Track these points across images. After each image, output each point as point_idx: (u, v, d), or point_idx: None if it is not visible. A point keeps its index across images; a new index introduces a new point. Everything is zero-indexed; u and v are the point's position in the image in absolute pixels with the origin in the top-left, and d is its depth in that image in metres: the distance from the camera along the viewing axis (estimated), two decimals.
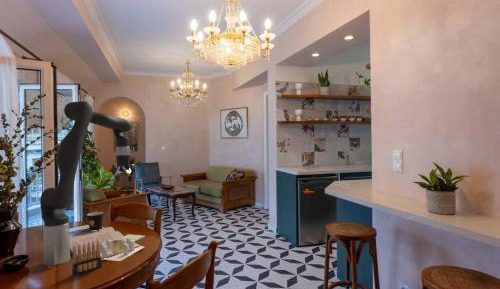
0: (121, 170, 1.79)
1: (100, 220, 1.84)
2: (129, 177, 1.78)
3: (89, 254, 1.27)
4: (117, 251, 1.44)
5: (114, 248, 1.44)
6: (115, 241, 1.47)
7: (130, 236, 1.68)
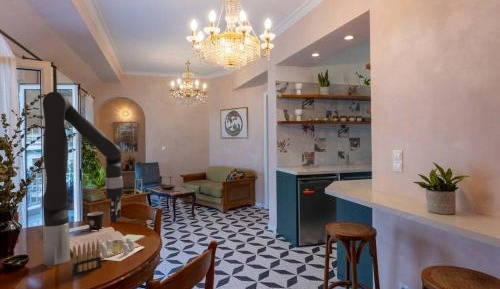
0: None
1: (100, 220, 1.84)
2: None
3: (89, 254, 1.27)
4: (117, 251, 1.44)
5: (114, 248, 1.44)
6: (115, 241, 1.47)
7: (130, 236, 1.68)
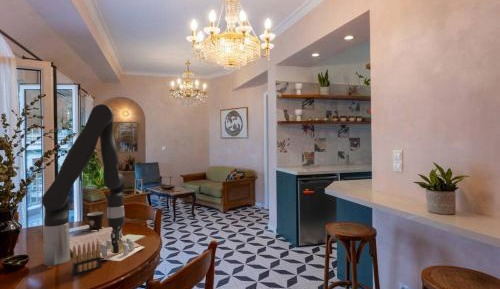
0: None
1: (100, 220, 1.84)
2: None
3: (89, 254, 1.27)
4: None
5: None
6: (115, 241, 1.47)
7: (130, 236, 1.68)
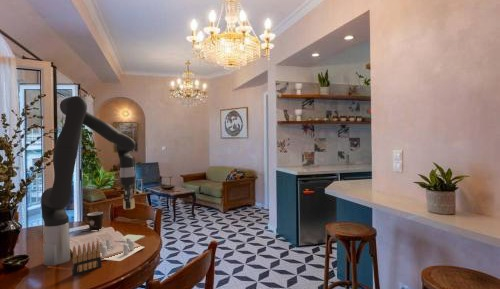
0: None
1: (100, 220, 1.84)
2: None
3: (89, 254, 1.27)
4: None
5: None
6: (127, 198, 1.65)
7: (130, 236, 1.68)
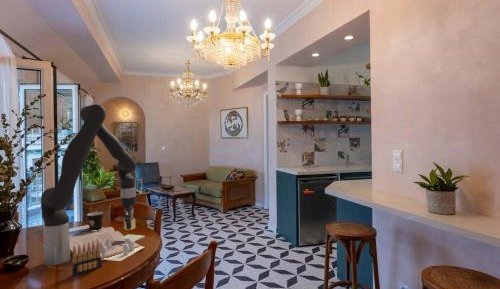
0: None
1: (100, 220, 1.84)
2: None
3: (89, 254, 1.27)
4: None
5: None
6: None
7: (130, 236, 1.68)
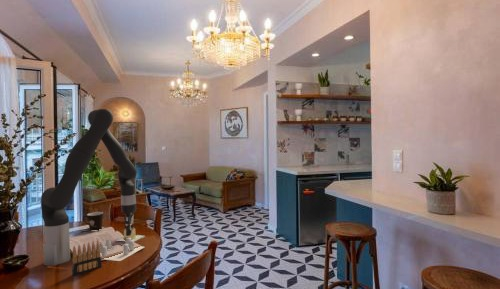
0: None
1: (100, 220, 1.84)
2: None
3: (89, 254, 1.27)
4: (130, 237, 1.63)
5: None
6: None
7: None
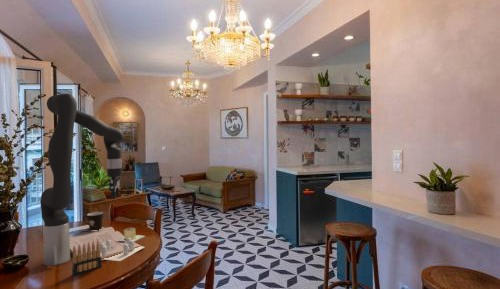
0: (116, 184, 1.65)
1: (100, 220, 1.84)
2: None
3: (89, 254, 1.27)
4: (130, 237, 1.63)
5: (127, 235, 1.63)
6: (128, 229, 1.66)
7: None
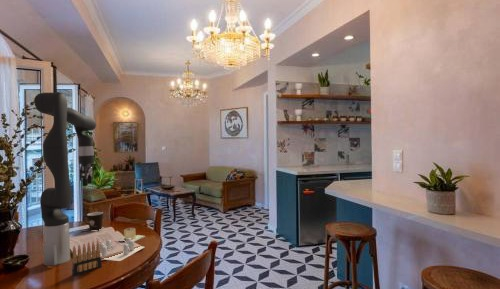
0: (88, 172, 1.66)
1: (100, 220, 1.84)
2: None
3: (89, 254, 1.27)
4: (130, 237, 1.63)
5: (127, 235, 1.63)
6: (128, 229, 1.66)
7: None
